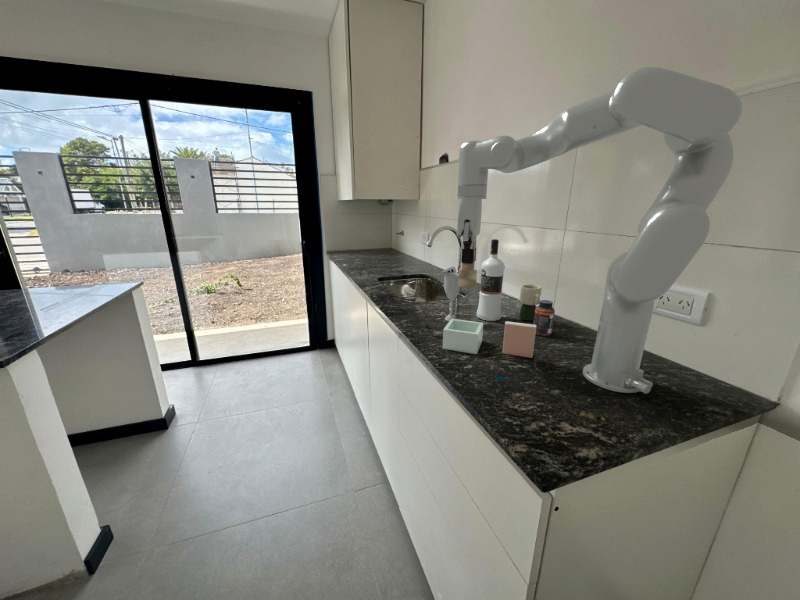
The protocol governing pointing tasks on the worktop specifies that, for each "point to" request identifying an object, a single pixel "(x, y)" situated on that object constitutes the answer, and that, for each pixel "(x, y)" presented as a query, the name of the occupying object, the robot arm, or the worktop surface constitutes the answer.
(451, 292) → the chalice
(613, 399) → the worktop surface
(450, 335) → the holder
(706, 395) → the worktop surface
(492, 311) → the vodka
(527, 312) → the character mug
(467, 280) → the wooden block with tab
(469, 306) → the worktop surface
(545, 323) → the supplement bottle
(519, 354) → the tile
